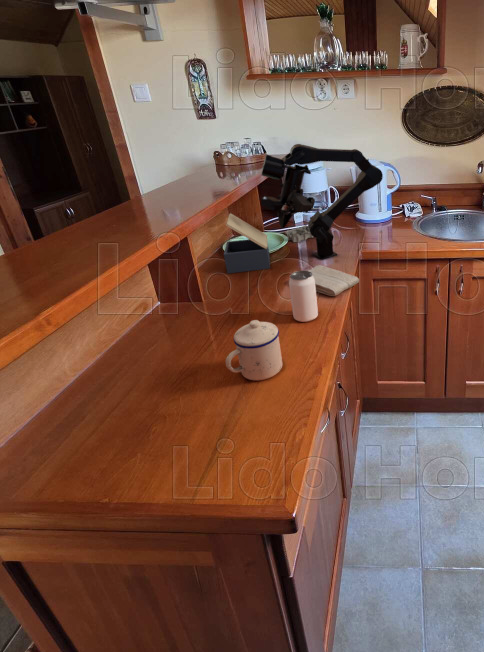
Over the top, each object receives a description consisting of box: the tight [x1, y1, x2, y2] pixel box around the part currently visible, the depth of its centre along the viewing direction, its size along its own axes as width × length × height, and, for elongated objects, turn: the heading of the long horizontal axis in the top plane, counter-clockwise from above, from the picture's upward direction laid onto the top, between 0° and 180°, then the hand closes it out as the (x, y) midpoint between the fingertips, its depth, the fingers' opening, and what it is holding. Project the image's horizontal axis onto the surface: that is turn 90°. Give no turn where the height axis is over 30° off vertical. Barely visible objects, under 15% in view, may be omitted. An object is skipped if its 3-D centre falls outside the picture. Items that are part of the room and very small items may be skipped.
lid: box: [225, 213, 269, 249], centre depth 140 cm, size 14×13×1 cm
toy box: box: [223, 238, 271, 274], centre depth 143 cm, size 14×13×7 cm
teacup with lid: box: [225, 319, 283, 381], centre depth 87 cm, size 12×9×12 cm
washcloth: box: [307, 264, 360, 297], centre depth 128 cm, size 12×18×3 cm, turn 54°
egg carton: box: [285, 224, 314, 243], centre depth 167 cm, size 11×8×4 cm
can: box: [288, 270, 319, 323], centre depth 108 cm, size 6×6×12 cm
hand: (282, 227), depth 143 cm, fingers closed
